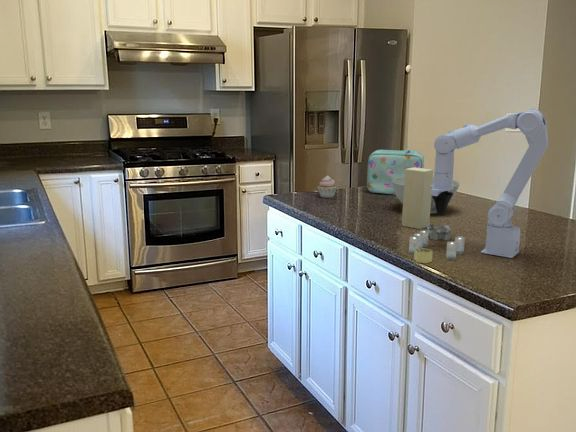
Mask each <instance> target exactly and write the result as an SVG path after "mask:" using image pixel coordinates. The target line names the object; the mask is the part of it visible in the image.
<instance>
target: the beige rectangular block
mask: <svg viewBox="0 0 576 432" xmlns="http://www.w3.org/2000/svg"><path fill="white" fill-rule="evenodd" d="M424 168H425V167H424ZM424 168H416V167H413V168H408V169H405V179H404V196H403V204H402V212H401V213H402V215H401V226H403V227H407V228H413V229H417V230H423V229H424V228H427V222H428V223H429V224H430V222H431V221H430V218H431V214H430V208H431V189H432V188H430V185H432V181H433V177H434V170H433V169H429V168H425V169H424Z"/></svg>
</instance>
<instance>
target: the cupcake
mask: <svg viewBox="0 0 576 432" xmlns="http://www.w3.org/2000/svg"><path fill="white" fill-rule="evenodd" d="M318 184H319V185H318V186H316V188H317V189H318V192H319V197H320V198H321V199H334V198H335V195H336V191H337V190H338V188H339V186H336V182H335V180H334V179H332V178H331V176H329V175H326V176H324V177H323V178H322V179H321V180H320V182H319V183H318Z"/></svg>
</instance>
